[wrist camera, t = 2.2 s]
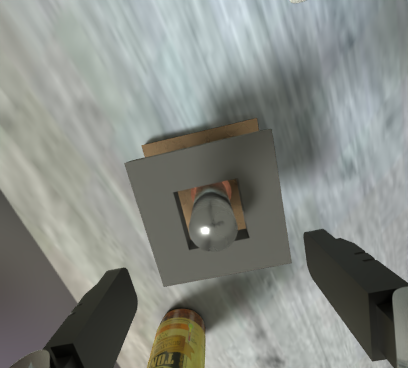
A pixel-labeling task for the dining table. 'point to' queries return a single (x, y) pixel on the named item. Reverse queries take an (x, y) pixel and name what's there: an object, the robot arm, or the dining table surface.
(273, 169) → the collar
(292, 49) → the dining table surface
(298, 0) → the eye dropper bottle
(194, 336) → the sauce bottle
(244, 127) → the bronze plate with post
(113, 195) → the dining table surface
